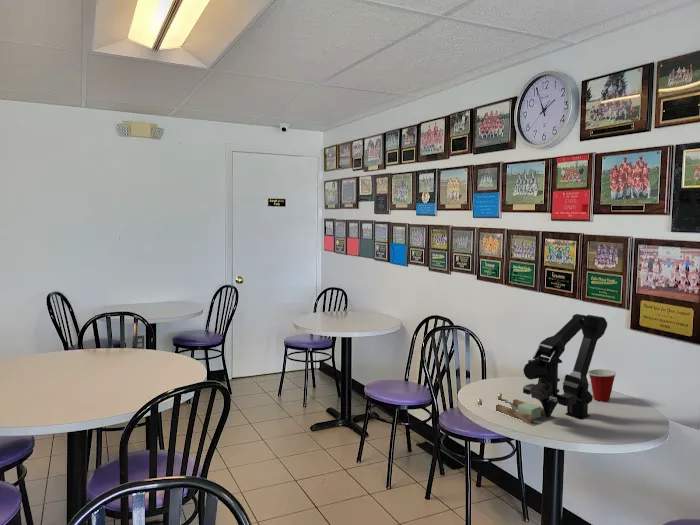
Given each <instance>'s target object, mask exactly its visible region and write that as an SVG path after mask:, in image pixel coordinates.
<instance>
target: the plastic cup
mask: <svg viewBox="0 0 700 525" xmlns="http://www.w3.org/2000/svg"><path fill="white" fill-rule="evenodd" d="M587 375H589V379H590V384H591V391H592V396H593V400H594V399H595V401H596V400H597V402H600V401H602V402H601V403H608V402H609V401H610V399H611V394H612V391H613V390H612V389H613V384H614V381H615V377H616V375H617V373H616V371H614V370H611V369H610V370H609V369H601V368H599V369H597V368H596V369H595V368H594V369H588V373H587ZM607 401H608V402H607Z"/></svg>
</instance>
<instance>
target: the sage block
mask: <svg viewBox="0 0 700 525" xmlns="http://www.w3.org/2000/svg"><path fill="white" fill-rule="evenodd" d="M541 408H542V406H540V405H538V404H534V403H532V402H529V401H528V402H526V403H524V404H520V405H518V411H519V412H522V413H525V414H528V415H531V416H533V419H536V418H539V417H541Z"/></svg>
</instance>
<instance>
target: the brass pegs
mask: <svg viewBox="0 0 700 525" xmlns="http://www.w3.org/2000/svg"><path fill="white" fill-rule="evenodd" d="M497 398H498V400H503V393H499V392H498V393H497ZM482 402H483V399H481V398H477V404H478V405H482Z"/></svg>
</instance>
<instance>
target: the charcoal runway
mask: <svg viewBox="0 0 700 525" xmlns="http://www.w3.org/2000/svg"><path fill="white" fill-rule="evenodd" d="M503 400H504V401H505V403H509V404H510V405H511V407H512V409H514V410H518V407H515V406H513V402H510V401H508V400H505V399H503ZM555 419H557V417H556V416H553V415H551V416H550V417H549V418H548V417H545V416H542V415H541V417H539V418H536V419H533V423H531V424H530V423H528V422H525V421H523V422H522V423H525V424H526V425H530V426H533V427H535V426H537V425H541V424H543V423H546V422H547V423H548V422H550V421H553V420H555ZM519 422H521V421H520V420H519Z"/></svg>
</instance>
